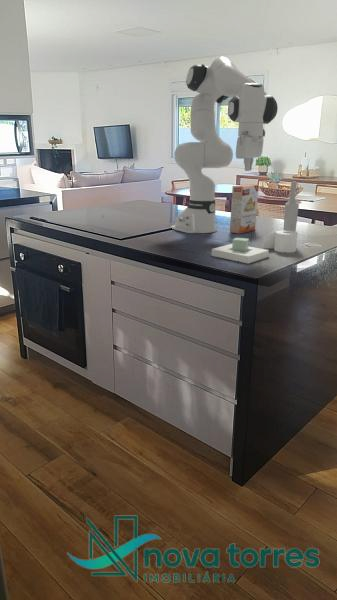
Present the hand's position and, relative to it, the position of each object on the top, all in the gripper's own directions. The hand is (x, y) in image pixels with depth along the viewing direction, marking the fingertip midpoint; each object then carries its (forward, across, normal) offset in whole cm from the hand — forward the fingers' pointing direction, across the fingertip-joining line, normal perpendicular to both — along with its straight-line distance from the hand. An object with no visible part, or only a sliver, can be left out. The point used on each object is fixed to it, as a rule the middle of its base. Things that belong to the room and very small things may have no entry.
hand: (248, 170), depth 168 cm
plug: (+29, -16, -4) cm, 33 cm away
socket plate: (+29, -16, -4) cm, 33 cm away
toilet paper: (+29, +2, -14) cm, 33 cm away
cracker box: (+29, +30, +10) cm, 43 cm away
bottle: (+29, +10, -15) cm, 35 cm away
